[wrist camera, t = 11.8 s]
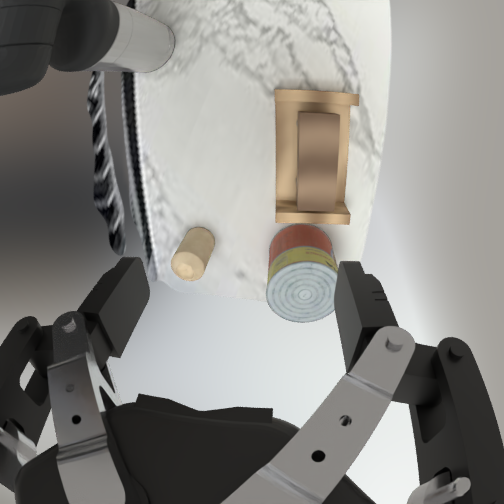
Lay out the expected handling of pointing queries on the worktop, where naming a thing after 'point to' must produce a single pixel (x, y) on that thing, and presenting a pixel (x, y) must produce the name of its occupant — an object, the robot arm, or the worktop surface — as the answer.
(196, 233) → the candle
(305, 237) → the canned food
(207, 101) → the worktop surface
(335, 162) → the brown wooden block
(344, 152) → the peg frame
